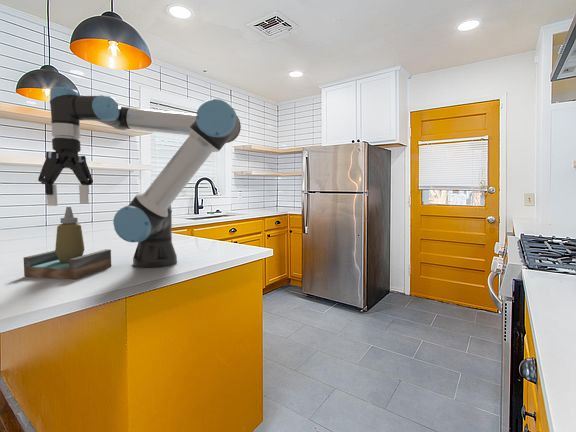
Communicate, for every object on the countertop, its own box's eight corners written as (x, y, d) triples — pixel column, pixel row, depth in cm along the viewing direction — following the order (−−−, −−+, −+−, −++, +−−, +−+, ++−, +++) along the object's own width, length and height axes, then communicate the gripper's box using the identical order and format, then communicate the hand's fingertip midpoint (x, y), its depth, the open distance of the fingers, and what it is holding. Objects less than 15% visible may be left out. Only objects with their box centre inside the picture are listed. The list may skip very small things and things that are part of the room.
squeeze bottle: (70, 264, 103) (68, 207, 102) (49, 263, 105) (47, 207, 104) (90, 259, 111) (89, 206, 110) (70, 258, 113) (68, 206, 112)
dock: (111, 266, 116) (110, 249, 116) (75, 279, 99) (74, 259, 99) (66, 264, 118) (66, 247, 117) (24, 276, 101) (23, 257, 100)
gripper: (83, 144, 118) (85, 203, 119) (20, 132, 93) (24, 206, 95) (103, 144, 117) (105, 203, 119) (44, 131, 92) (48, 206, 94)
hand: (69, 204), depth 107 cm, fingers open, 13 cm apart
